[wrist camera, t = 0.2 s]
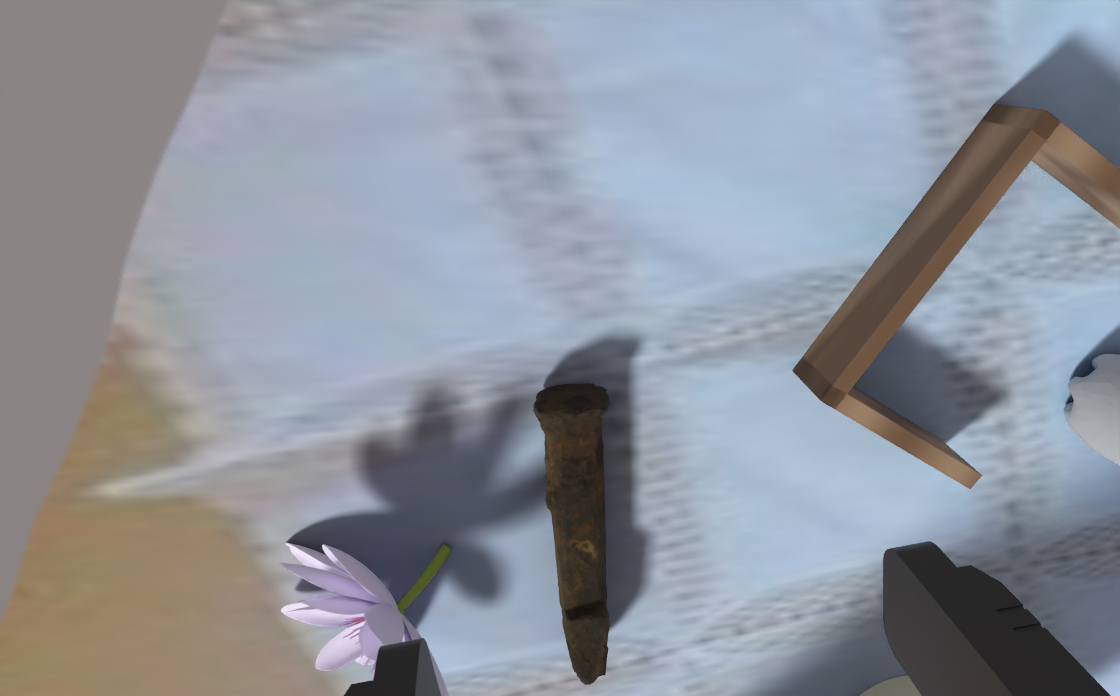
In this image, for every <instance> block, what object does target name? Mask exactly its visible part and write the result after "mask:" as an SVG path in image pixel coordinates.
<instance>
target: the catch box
mask: <svg viewBox="0 0 1120 696" xmlns="http://www.w3.org/2000/svg"><path fill="white" fill-rule="evenodd" d="M1031 160H1032V161H1033V162H1035V163H1036V164H1037V165H1038V166H1040V167H1041V168H1042V169H1044V170H1045V171H1046V172H1047V173H1049V174H1050V175H1051V176H1053V177H1054V178H1055V179H1057V180H1058V181H1059V182H1060V183H1062V184H1063V185H1064V186H1066V187H1067V188H1068V189H1069V190H1071V191H1072V192H1073V193H1075V194H1076V195H1077V196H1079V197H1080V198H1081V199H1082V200H1084V201H1085V202H1086V203H1088V204H1089V205H1090V206H1091V207H1093V208H1094V209H1095V210H1097V211H1098V212H1099V213H1101V214H1102V215H1103V216H1104V217H1106V218H1107V219H1108V220H1110V221H1111V222H1112V223H1113V224H1115V225H1116V226H1117V227H1119V228H1120V169H1119V168H1117V167H1116V166H1115V165H1114V164H1112V163H1111V162H1110V161H1109V160H1107V159H1106V158H1105V157H1104V156H1102V155H1101V154H1100V153H1099V152H1097V151H1096V150H1095V149H1094V148H1093V147H1091V146H1090V145H1089V144H1088V143H1086V142H1085V141H1084V140H1083V139H1081V138H1080V137H1079V136H1078V135H1076V134H1075V133H1074V132H1073V131H1071V130H1070V129H1069V128H1068V127H1066V126H1065V125H1064V124H1063V123H1061V122H1060V121H1059V120H1058V119H1056V118H1055V117H1054V116H1053V115H1051V114H1050V113H1049V112H1048V111H1046V110H1039V109H1031V108H1023V107H1015V106H1007V105H999V104H994V105H993V106H992V107H991V109H990V110H989V111H988V113H987V114H986V115H985V117H984V118H983V119H982V121H981V122H980V123H979V125H978V126H977V127H976V129H975V130H974V131H973V133H972V134H971V135H970V136H969V138H968V139H967V140H966V142H965V143H964V144H963V146H962V147H961V148H960V150H959V151H958V152H957V154H956V155H955V156H954V158H953V159H952V160H951V162H950V163H949V164H948V166H947V167H946V168H945V170H944V171H943V172H942V174H941V175H940V176H939V178H938V179H937V180H936V181H935V183H934V184H933V185H932V187H931V188H930V189H929V191H928V192H927V193H926V195H925V196H924V197H923V199H922V200H921V201H920V203H919V204H918V205H917V207H916V208H915V209H914V211H913V212H912V213H911V215H910V216H909V217H908V219H907V220H906V221H905V222H904V224H903V225H902V226H901V228H900V229H899V230H898V232H897V233H896V234H895V236H894V237H893V238H892V240H891V241H890V242H889V244H888V245H887V246H886V248H885V249H884V250H883V252H882V253H881V254H880V256H879V257H878V258H877V260H876V261H875V262H874V264H873V265H872V266H871V267H870V269H869V270H868V271H867V273H866V274H865V275H864V277H863V278H862V279H861V281H860V282H859V283H858V285H857V286H856V287H855V289H854V290H853V291H852V293H851V294H850V295H849V297H848V298H847V299H846V301H845V302H844V303H843V305H842V306H841V307H840V308H839V310H838V311H837V312H836V314H835V315H834V316H833V318H832V319H831V320H830V322H829V323H828V324H827V326H826V327H825V328H824V330H823V331H822V332H821V334H820V335H819V336H818V338H817V339H816V340H815V342H814V343H813V344H812V346H811V347H810V348H809V350H808V351H807V352H806V353H805V355H804V356H803V357H802V359H801V360H800V361H799V363H798V364H797V365H796V367H795V368H794V369H793V372H794V373H795V374H796V375H797V376H798V377H799V378H800V379H801V380H802V381H803V383H804V384H805V385H806V386H807V387H808V388H809V389H810V390H811V391H812V392H813V393H814V394H815V395H816V396H817V397H818V398H819V399H820V400H821V401H822V402H824V403H825V404H827V405H829V406H830V407H832V408H834V409H836V410H837V411H839V412H841V413H842V414H844V415H846V416H847V417H849V418H851V419H852V420H854V421H856V422H858V423H859V424H861V425H863V426H864V427H866V428H868V429H869V430H871V431H873V432H874V433H876V434H878V435H879V436H881V437H883V438H885V439H886V440H888V441H890V442H891V443H893V444H895V445H896V446H898V447H900V448H901V449H903V450H905V451H907V452H908V453H910V454H912V455H913V456H915V457H917V458H918V459H920V460H922V461H923V462H925V463H927V464H928V465H930V466H932V467H934V468H935V469H937V470H939V471H940V472H942V473H944V474H945V475H947V476H949V477H950V478H952V479H954V480H955V481H957V482H959V483H961V484H962V485H964V486H966V487H967V488H969V489H971V488H972V486H973V485H974V484H975V483H976V482H977V481H978V480H979V478H980V477H981V476H982V475H981V474H980V473H979V472H978V471H976V470H975V469H974V468H973V467H972V466H971V465H970V464H968V463H967V462H966V461H965V460H964V459H963V458H961V457H960V456H959V455H958V454H957V453H956V452H955V451H953V450H952V449H951V448H950V447H949V446H948V445H946V444H945V443H944V442H943V441H941V440H940V439H938V438H937V437H935V436H933V435H932V434H930V433H928V432H927V431H925V430H923V429H922V428H920V427H918V426H917V425H915V424H913V423H912V422H910V421H909V420H907V419H905V418H904V417H902V416H900V415H899V414H897V413H895V412H894V411H892V410H890V409H889V408H887V407H885V406H884V405H882V404H881V403H879V402H877V401H876V400H874V399H872V398H871V397H869V396H867V395H866V394H864V393H862V392H861V391H859V390H857V389H856V388H854V387H853V386H854V385H855V383H856V382H857V381H858V380H859V378H860V377H861V376H862V375H863V373H864V372H865V371H866V369H867V368H868V367H869V366H870V364H871V363H872V362H873V361H874V359H875V358H876V357H877V355H878V354H879V353H880V352H881V350H882V349H883V348H884V347H885V345H886V344H887V343H888V341H889V340H890V339H891V338H892V336H893V335H894V334H895V333H896V331H897V330H898V329H899V327H900V326H901V325H902V324H903V322H904V321H905V320H906V319H907V317H908V316H909V315H910V313H911V312H912V311H913V310H914V308H915V307H916V306H917V305H918V303H919V302H920V301H921V299H922V298H923V297H924V296H925V294H926V293H927V292H928V291H929V289H930V288H931V287H932V285H933V284H934V283H935V282H936V280H937V279H938V278H939V277H940V275H941V274H942V273H943V271H944V270H945V269H946V268H947V266H948V265H949V264H950V263H951V261H952V260H953V259H954V258H955V256H956V255H957V254H958V252H959V251H960V250H961V249H962V247H963V246H964V245H965V244H966V242H967V241H968V240H969V238H970V237H971V236H972V235H973V233H974V232H975V231H976V230H977V228H978V227H979V226H980V224H981V223H982V222H983V221H984V219H985V218H986V217H987V216H988V214H989V213H990V212H991V210H992V209H993V208H994V207H995V205H996V204H997V203H998V202H999V200H1000V199H1001V198H1002V196H1003V195H1004V194H1005V193H1006V191H1007V190H1008V189H1009V188H1010V186H1011V185H1012V184H1013V182H1014V181H1015V180H1016V179H1017V177H1018V176H1019V175H1020V174H1021V172H1022V171H1023V170H1024V168H1025V167H1026V166H1027V165H1028V163H1029V162H1030V161H1031Z"/></svg>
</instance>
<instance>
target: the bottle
mask: <svg viewBox="0 0 1120 696" xmlns="http://www.w3.org/2000/svg"><path fill="white" fill-rule="evenodd" d="M1091 363H1092V366H1093V368H1094V369H1095V370H1094V371H1093V372H1092V373H1091V374H1090V375H1089V376H1086V377H1083V378H1082V377H1073V378H1072V379H1071V380H1070V383H1069V385H1068V388H1069V390H1070V392H1071V394H1072V396H1073V399H1074V401H1073V402H1072V403H1069V404H1067V405H1066V406H1065V408H1064V415H1065V418H1066V421H1067V422H1068V424H1069V425H1070V427H1071V428H1072V429H1073V430H1074V431H1075V432H1076V433H1077V434H1078V436H1079V437H1080V438H1081V439H1082V440H1083V441H1084V443H1086V444H1087V445H1088V446H1089V447H1090V448H1092V449H1093V450H1094V451H1096V452H1097V453H1099V454H1100V455H1102V456H1103V457H1105V458H1107V459H1109V460H1110V461H1112V462H1114V463H1116V464H1118V465H1119V466H1120V355H1117V354H1103V355H1100V356H1098V357H1096V358H1094V359H1093V360H1092V362H1091Z"/></svg>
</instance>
